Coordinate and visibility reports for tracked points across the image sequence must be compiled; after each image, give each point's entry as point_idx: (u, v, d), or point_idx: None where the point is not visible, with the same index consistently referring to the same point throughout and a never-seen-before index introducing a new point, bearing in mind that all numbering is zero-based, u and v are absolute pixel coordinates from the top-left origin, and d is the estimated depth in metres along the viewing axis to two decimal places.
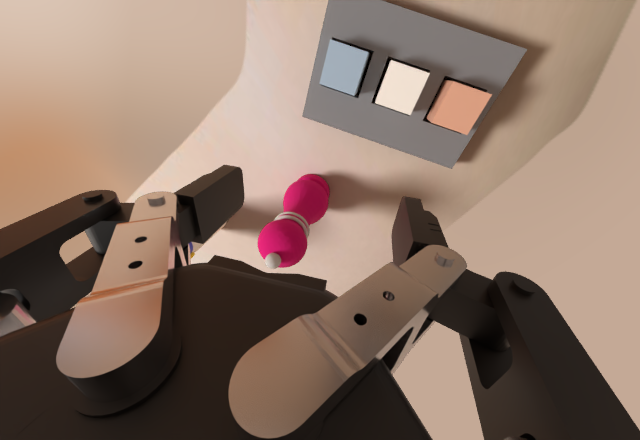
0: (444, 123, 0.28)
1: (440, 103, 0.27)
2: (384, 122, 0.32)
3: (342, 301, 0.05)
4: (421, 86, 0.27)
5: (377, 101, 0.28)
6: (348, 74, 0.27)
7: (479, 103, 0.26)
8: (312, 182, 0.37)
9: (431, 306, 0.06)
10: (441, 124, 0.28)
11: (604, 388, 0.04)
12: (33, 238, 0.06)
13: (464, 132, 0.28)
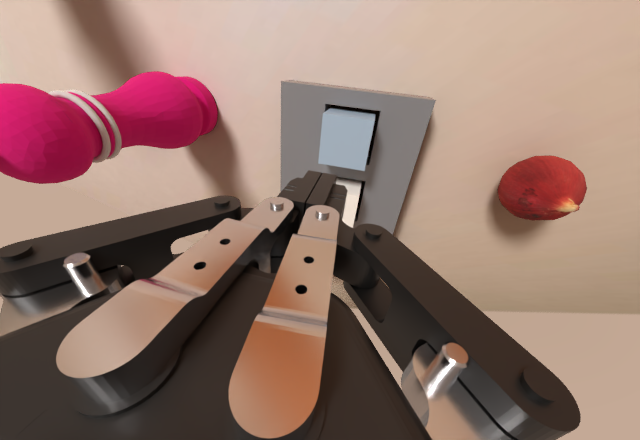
0: None
1: None
2: None
3: (278, 285, 0.05)
4: None
5: None
6: (339, 151, 0.22)
7: None
8: (198, 117, 0.25)
9: None
10: None
11: (438, 279, 0.06)
12: (154, 229, 0.07)
13: None
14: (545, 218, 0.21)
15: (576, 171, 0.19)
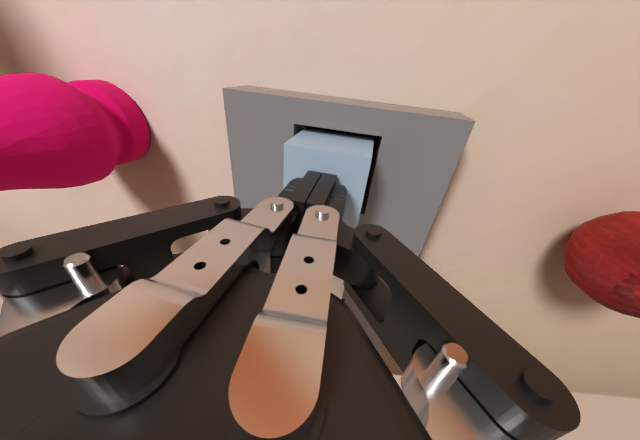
0: None
1: None
2: None
3: (278, 285, 0.05)
4: None
5: None
6: None
7: None
8: (104, 143, 0.16)
9: None
10: None
11: (438, 279, 0.06)
12: (155, 229, 0.07)
13: None
14: None
15: None
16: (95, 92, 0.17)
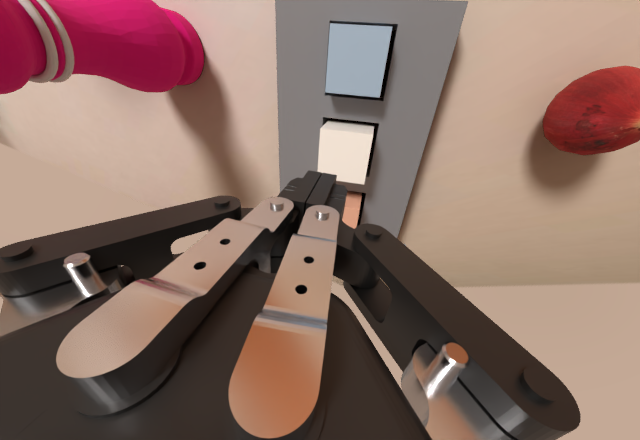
0: None
1: None
2: (305, 142, 0.24)
3: (278, 284, 0.05)
4: (349, 180, 0.22)
5: (322, 131, 0.20)
6: (350, 73, 0.19)
7: None
8: (178, 50, 0.21)
9: None
10: None
11: (438, 279, 0.06)
12: (155, 229, 0.07)
13: None
14: (612, 145, 0.16)
15: None
16: (167, 15, 0.22)
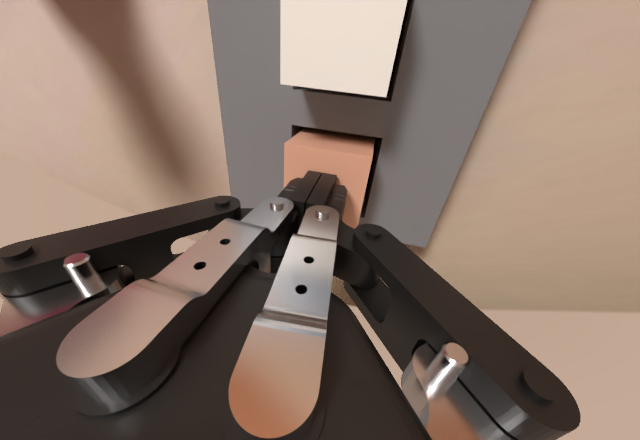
0: (291, 171, 0.13)
1: (326, 147, 0.12)
2: (261, 22, 0.12)
3: (278, 284, 0.05)
4: (352, 86, 0.10)
5: None
6: None
7: None
8: None
9: None
10: (287, 165, 0.13)
11: (438, 279, 0.06)
12: (154, 229, 0.07)
13: None
14: None
15: None
16: None
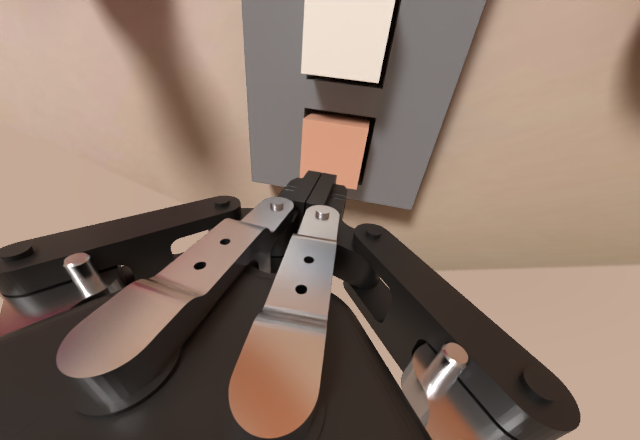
0: (307, 141, 0.17)
1: (334, 122, 0.16)
2: (284, 27, 0.15)
3: (278, 284, 0.05)
4: (354, 75, 0.13)
5: None
6: None
7: (343, 178, 0.18)
8: None
9: None
10: (304, 136, 0.17)
11: (438, 279, 0.06)
12: (155, 229, 0.07)
13: (301, 174, 0.18)
14: None
15: None
16: None
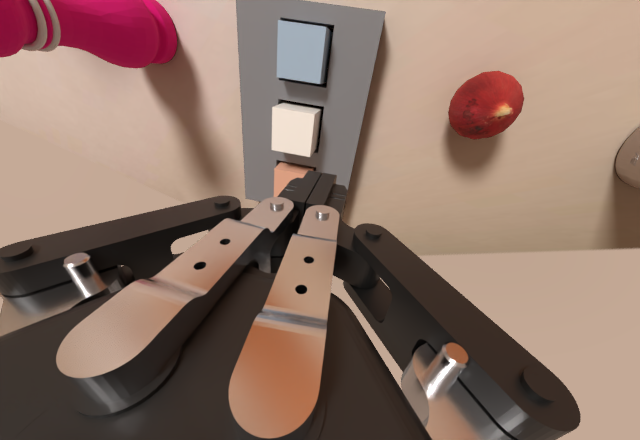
0: (277, 180, 0.30)
1: (291, 170, 0.29)
2: (264, 120, 0.28)
3: (278, 285, 0.05)
4: (298, 152, 0.26)
5: (274, 109, 0.24)
6: (296, 62, 0.23)
7: None
8: (152, 32, 0.24)
9: None
10: (275, 177, 0.30)
11: (438, 279, 0.06)
12: (155, 229, 0.07)
13: None
14: (487, 130, 0.22)
15: (513, 80, 0.20)
16: (143, 0, 0.25)
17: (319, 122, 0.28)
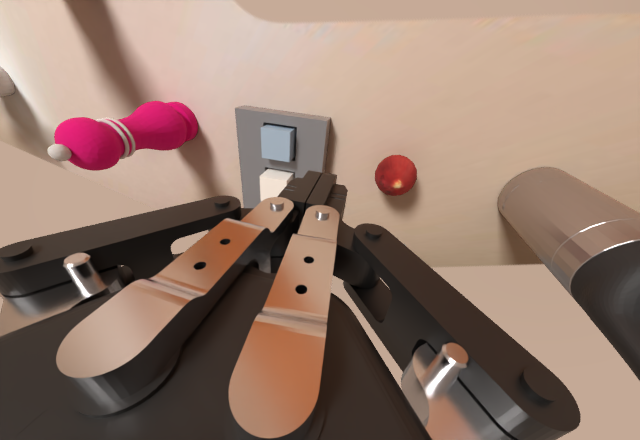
0: None
1: None
2: (256, 179, 0.41)
3: (278, 284, 0.05)
4: None
5: (261, 177, 0.37)
6: (273, 150, 0.36)
7: None
8: (183, 130, 0.38)
9: None
10: None
11: (438, 278, 0.06)
12: (155, 229, 0.07)
13: None
14: (393, 193, 0.34)
15: (406, 164, 0.32)
16: (177, 108, 0.39)
17: None
